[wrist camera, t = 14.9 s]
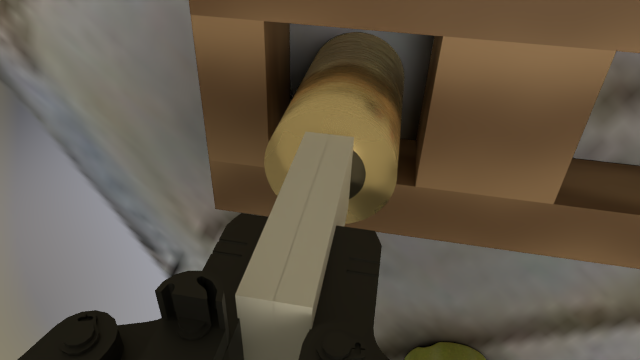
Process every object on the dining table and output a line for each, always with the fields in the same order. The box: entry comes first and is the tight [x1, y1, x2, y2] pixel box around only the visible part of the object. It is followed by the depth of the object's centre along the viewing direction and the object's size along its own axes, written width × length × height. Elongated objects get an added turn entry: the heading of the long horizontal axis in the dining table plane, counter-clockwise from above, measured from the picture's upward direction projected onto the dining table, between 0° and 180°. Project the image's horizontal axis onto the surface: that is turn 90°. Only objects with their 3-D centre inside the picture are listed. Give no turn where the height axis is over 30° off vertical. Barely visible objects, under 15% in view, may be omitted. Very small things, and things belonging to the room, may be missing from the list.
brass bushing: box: [264, 32, 404, 224], centre depth 18 cm, size 4×4×8 cm
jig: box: [189, 0, 640, 269], centre depth 19 cm, size 12×24×4 cm, turn 88°
